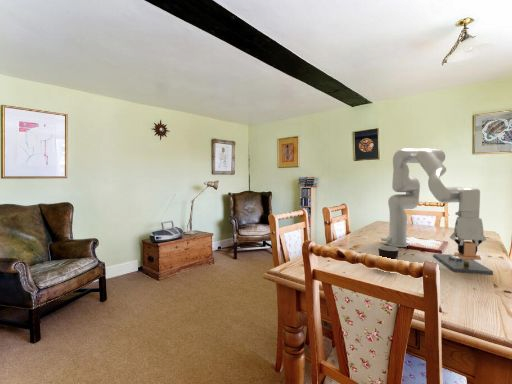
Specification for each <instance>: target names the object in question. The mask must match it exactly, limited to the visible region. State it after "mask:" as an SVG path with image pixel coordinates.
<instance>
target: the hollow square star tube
mask: <svg viewBox="0 0 512 384" xmlns="http://www.w3.org/2000/svg"><path fill="white" fill-rule="evenodd" d="M463 246H464V254H461V253H459V251H458V252H454V254H455V257H460V258H462V259H469V260H474V261H476V260H477V261H481V260H482V258H481V255H479V254H477V252H476V243H473V242H472V240H464V242H463Z"/></svg>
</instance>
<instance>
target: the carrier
mask: <svg viewBox="0 0 512 384" xmlns="http://www.w3.org/2000/svg"><path fill="white" fill-rule="evenodd" d="M432 256H433V258H435V259H436V260H437V261H438V262H440V263H441V264H443V265H444V266H445V267H447V268H448V269H450V270H451V271H452V272H454V273H463V274H464V273H465V274H477V275H478V274H481V275H491V276H493V275H494V271H493V270H492V269H491V268H488V267H487V266H485V265H483V264H481V263H480V262H478V261H476V260H469V259H462V258H460V257H455V253H454V254H451V253H450V254H449V253H448V254H446V253H445V254H444V253H443V254H442V253H433V255H432Z"/></svg>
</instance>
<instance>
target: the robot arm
mask: <svg viewBox="0 0 512 384" xmlns="http://www.w3.org/2000/svg"><path fill="white" fill-rule="evenodd" d="M445 160H446V154H445V152H444V151H443V149H439V148H409V147H408V148H407V147H406V148H400V149H398V150H396V152H394V154H393V157H392V168H393V171H392V172H393V173H392V183H391V184H392V185H391V186H392V187H391V188H392V190H393V191H394V192H396V193H399V194H393V195H391V196H390V197H389V198H388V201H387V204H388V209H389V228H388V229H389V232H388V236H386V237H380V241H383V242H385V243H386V246H393V247H396V248H407V246H408V245H409V246H410V244H409V243H408V242H407V236H408V234H407V230H408V228H407V227H408V216H407V213H406V211H405V210H414V209H415V208H417V207H418V205H419V201H420V193H421V191H420V189H421V183H420V181H419V179H418V178H417V177H415V176H410V169H409V166H408V164H419V166H421V167H422V169H423V171H424V172H425V173H426V175H427V176H428V178H427V179H428V180H427V184H428V190H429V192H431V194H432V195H433V197H434V198H435V199H436V200H437V202H440V203H443V204H447V203H448V204H449V203H458V211H456V212H455V214H454V215H455V216H457V217H456V219H455V224H454V228H453V233H452V234H451V235H450V237H449V238H450V239H451V240H453V241H454V242H455V243H456V244H457V251H458V252H459V253H461V254H464V246H463V242H464V241H471V242H473V243H476V253H478V247H479V246H480V244H482V242H485V241H486V240H487V238H486V236H485V235H484V224H483V220H482V218H481V217H480V210H481V209H480V208H481V206H480V205H481V190H480V189H479V188H476V187H463V186H462V187H461V186H448V187H446V186H445V185H444V183H443V181H441V179H440V178H441V177H442V176H443V175H444V174H445V173H446V172H447V167H446V166H445V165H444V164H443V163H444V162H445ZM404 193H405V194H404ZM409 246H408V247H409Z"/></svg>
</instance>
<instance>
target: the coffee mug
mask: <svg viewBox="0 0 512 384" xmlns="http://www.w3.org/2000/svg"><path fill="white" fill-rule="evenodd" d="M377 248H378V257H379V256H382V257H387V258H391V259H397V260H398V256H399V250H400V249H399V247H394V246H390V245H379V246H378V247H377Z"/></svg>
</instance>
